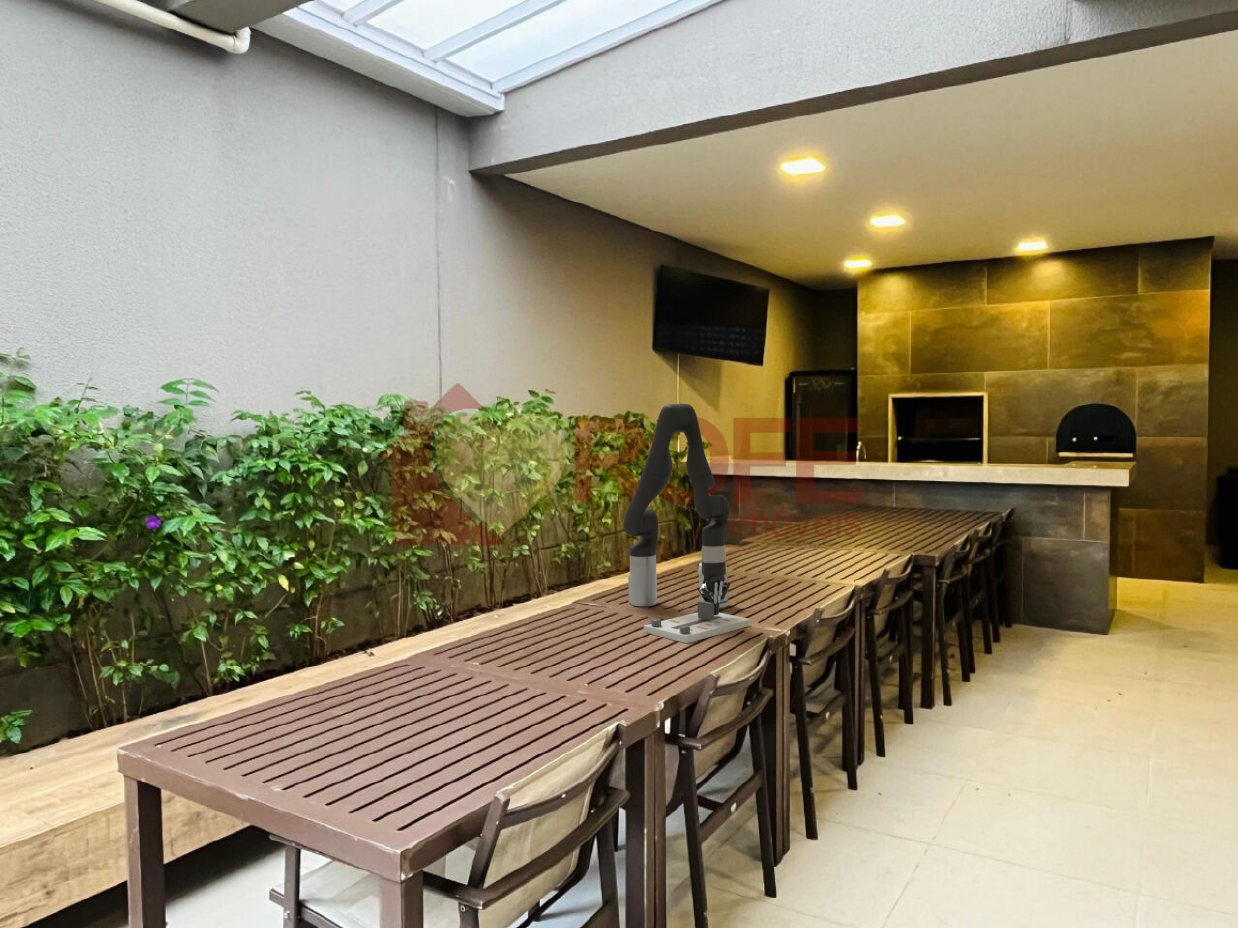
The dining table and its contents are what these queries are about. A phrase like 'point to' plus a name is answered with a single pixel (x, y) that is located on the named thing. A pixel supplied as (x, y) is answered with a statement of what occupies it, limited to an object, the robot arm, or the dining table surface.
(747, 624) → the console board
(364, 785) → the dining table surface
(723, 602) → the supplement tub
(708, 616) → the fader tab
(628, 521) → the robot arm
